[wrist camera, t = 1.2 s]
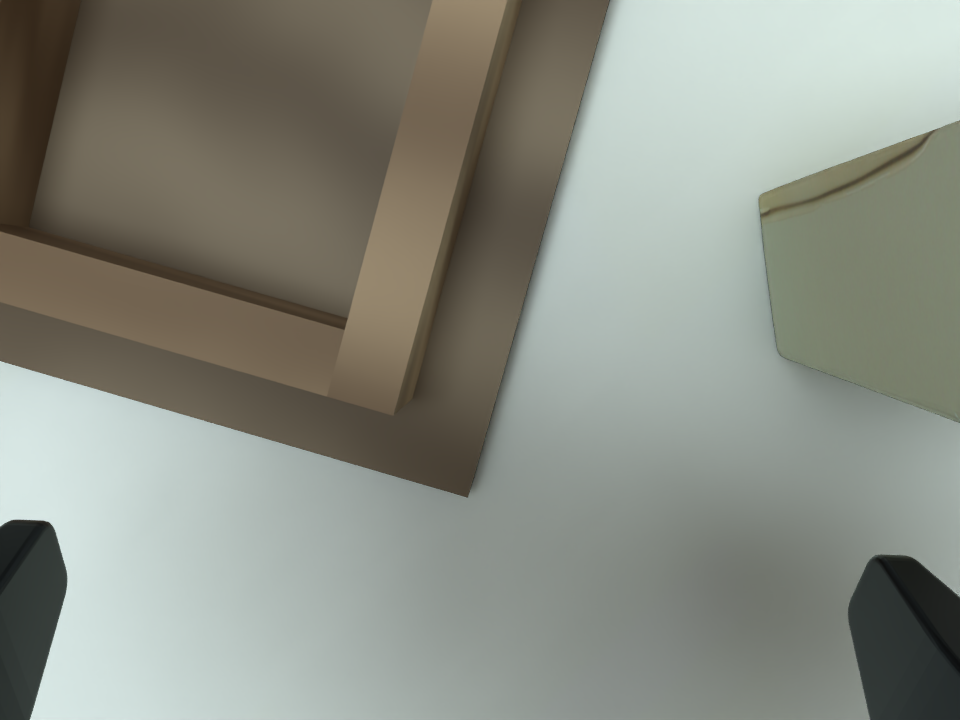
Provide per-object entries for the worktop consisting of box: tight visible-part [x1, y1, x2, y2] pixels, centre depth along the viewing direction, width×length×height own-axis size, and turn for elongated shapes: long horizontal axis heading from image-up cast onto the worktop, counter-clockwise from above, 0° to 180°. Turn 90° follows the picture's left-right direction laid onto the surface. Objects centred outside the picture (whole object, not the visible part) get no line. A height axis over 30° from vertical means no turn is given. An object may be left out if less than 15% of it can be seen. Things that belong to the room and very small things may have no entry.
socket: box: [0, 0, 610, 497], centre depth 21 cm, size 16×16×4 cm
